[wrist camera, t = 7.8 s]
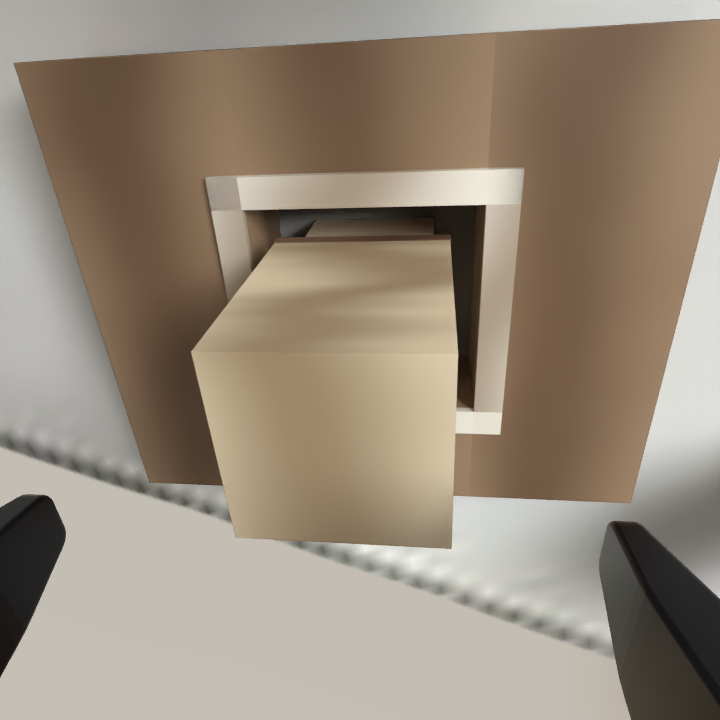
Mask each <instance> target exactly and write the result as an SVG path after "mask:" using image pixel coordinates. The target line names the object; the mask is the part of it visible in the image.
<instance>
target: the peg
mask: <svg viewBox="0 0 720 720" xmlns="http://www.w3.org/2000/svg"><path fill="white" fill-rule="evenodd" d="M191 354H192V358H193V362H194V366H195V370H196V375H197V379H198V383H199V387H200V391H201V395H202V400H203V404H204V408H205V412H206V416H207V420H208V425H209V429H210V433H211V437H212V441H213V445H214V450H215V454H216V458H217V462H218V466H219V470H220V475H221V479H222V483H223V487H224V491H225V495H226V499H227V504H228V508H229V512H230V516H231V520H232V524H233V529H234V533H235V537H236V538H254V539H273V540H292V541H311V542H331V543H350V544H369V545H388V546H407V547H426V548H446V549H451V546H452V517H453V489H454V460H455V432H456V403H457V375H458V343H457V329H456V315H455V301H454V287H453V272H452V258H451V234H437V235H434V217H424V218H383V219H341V220H316V221H315V223H314V224H313V226H312V227H311V229H310V230H309V232H308V233H307V235H306V237H289V238H277V239H276V240H275V241H274V245H273V246H272V247H271V248H270V250H269V251H268V252H267V254H266V255H265V256H264V258H263V259H262V260H261V261H260V263H259V264H258V265H257V267H256V268H255V269H254V271H253V272H252V273H251V274H250V276H249V277H248V278H247V280H246V281H245V282H244V284H243V285H242V286H241V287H240V289H239V290H238V291H237V293H236V294H235V295H234V297H233V298H232V299H231V301H230V302H229V303H228V304H227V306H226V307H225V308H224V310H223V311H222V312H221V314H220V315H219V316H218V317H217V319H216V320H215V321H214V323H213V324H212V325H211V327H210V328H209V329H208V330H207V332H206V333H205V334H204V336H203V337H202V338H201V340H200V341H199V342H198V343H197V345H196V346H195V347H194V349H193V350H192V351H191Z"/></svg>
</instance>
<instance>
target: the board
mask: <svg viewBox="0 0 720 720" xmlns="http://www.w3.org/2000/svg"><path fill="white" fill-rule="evenodd" d="M14 66H15V69H16V72H17V75H18V78H19V81H20V84H21V87H22V90H23V93H24V96H25V100H26V103H27V106H28V109H29V112H30V115H31V118H32V121H33V124H34V127H35V130H36V134H37V137H38V140H39V143H40V146H41V149H42V152H43V155H44V158H45V161H46V164H47V167H48V171H49V174H50V177H51V180H52V183H53V186H54V189H55V192H56V195H57V198H58V201H59V205H60V208H61V211H62V214H63V217H64V220H65V223H66V226H67V229H68V232H69V235H70V239H71V242H72V245H73V248H74V251H75V254H76V257H77V260H78V263H79V266H80V269H81V272H82V276H83V279H84V282H85V285H86V288H87V291H88V294H89V297H90V300H91V303H92V306H93V310H94V313H95V316H96V319H97V322H98V325H99V328H100V331H101V334H102V337H103V340H104V344H105V347H106V350H107V353H108V356H109V359H110V362H111V365H112V368H113V371H114V374H115V377H116V381H117V384H118V387H119V390H120V393H121V396H122V399H123V402H124V405H125V408H126V411H127V415H128V418H129V421H130V424H131V427H132V430H133V433H134V436H135V439H136V442H137V445H138V449H139V452H140V455H141V458H142V461H143V464H144V467H145V470H146V473H147V476H148V479H149V482H152V483H175V484H198V485H221V486H223V483H222V479H221V475H220V470H219V466H218V462H217V458H216V454H215V450H214V445H213V441H212V437H211V433H210V429H209V425H208V420H207V416H206V412H205V408H204V404H203V400H202V395H201V391H200V387H199V383H198V379H197V375H196V370H195V366H194V362H193V358H192V354H191V351H192V350H193V349H194V347H195V346H196V345H197V343H198V342H199V341H200V340H201V338H202V337H203V336H204V334H205V333H206V332H207V330H208V329H209V328H210V327H211V325H212V324H213V323H214V321H215V320H216V319H217V317H218V316H219V315H220V314H221V312H222V311H223V310H224V308H225V307H226V306H227V304H228V303H229V302H230V301H231V299H232V298H233V297H234V295H235V294H236V293H237V291H238V290H239V289H240V287H241V286H242V285H243V284H244V282H245V281H246V280H247V278H248V277H249V276H250V274H251V273H252V272H253V271H254V269H255V268H256V267H257V265H258V264H259V263H260V261H261V260H262V259H263V258H264V256H265V255H266V254H267V252H268V251H269V250H270V248H271V247H272V246H273V245H274V241H275V240H276V239H277V238H281V234H280V226H279V218H278V209H322V208H366V207H410V206H454V205H476V220H475V240H474V260H473V279H472V299H471V319H470V339H469V357H458V375H457V403H456V432H455V460H454V489H453V496H475V497H499V498H522V499H545V500H568V501H591V502H614V503H631V499H632V495H633V492H634V488H635V484H636V480H637V476H638V472H639V468H640V464H641V461H642V457H643V453H644V449H645V445H646V441H647V437H648V434H649V430H650V426H651V422H652V418H653V414H654V410H655V406H656V403H657V399H658V395H659V391H660V387H661V383H662V379H663V376H664V372H665V368H666V364H667V360H668V356H669V352H670V349H671V345H672V341H673V337H674V333H675V329H676V325H677V321H678V318H679V314H680V310H681V306H682V302H683V298H684V294H685V291H686V287H687V283H688V279H689V275H690V271H691V267H692V263H693V260H694V256H695V252H696V248H697V244H698V240H699V236H700V233H701V229H702V225H703V221H704V217H705V213H706V209H707V206H708V202H709V198H710V194H711V190H712V186H713V182H714V178H715V175H716V171H717V167H718V163H719V159H720V19H710V20H690V21H674V22H657V23H641V24H625V25H609V26H592V27H576V28H560V29H544V30H527V31H511V32H495V33H479V34H462V35H446V36H430V37H414V38H397V39H381V40H365V41H349V42H332V43H316V44H300V45H284V46H267V47H251V48H235V49H219V50H202V51H186V52H170V53H154V54H137V55H121V56H105V57H89V58H74V59H61V60H47V61H33V62H20V63H14Z"/></svg>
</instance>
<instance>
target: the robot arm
mask: <svg viewBox="0 0 720 720" xmlns="http://www.w3.org/2000/svg"><path fill="white" fill-rule="evenodd" d="M65 538H66V531H65V527H64V525H63V523H62V520H61V518H60V516H59V514H58V511H57V509H56V507H55V505H54V502H53V501H52V499H51V498H50V497H48V496H46V495H32V494H31V495H30V494H27V495H22V496H20V497H18V498H16V499H14V500H13V501H11V502H9V503H7V504H5V505H4V506H2V507H1V508H0V677H1V675H2V673H3V671H4V669H5V668H6V666H7V664H8V662H9V660H10V659H11V657H12V655H13V653H14V652H15V650H16V648H17V646H18V644H19V642H20V640H21V638H22V636H23V635H24V633H25V631H26V629H27V627H28V625H29V622H30V620H31V618H32V616H33V614H34V612H35V609H36V607H37V605H38V602H39V600H40V598H41V596H42V593H43V591H44V589H45V586H46V584H47V582H48V580H49V577H50V575H51V573H52V571H53V568H54V566H55V564H56V561H57V559H58V557H59V554H60V552H61V550H62V548H63V545H64V542H65ZM599 570H600V578H601V583H602V589H603V594H604V600H605V605H606V610H607V616H608V621H609V627H610V632H611V638H612V643H613V649H614V654H615V659H616V664H617V669H618V674H619V679H620V682H621V686H622V690H623V693H624V697H625V700H626V704H627V707H628V710H629V714H630V717H631V720H720V599H719V598H718V597H717V596H716V595H715V594H714V593H713V592H712V591H711V590H710V589H709V588H708V587H707V586H706V585H705V584H704V583H703V582H702V581H700V580H699V579H698V578H697V577H696V576H695V575H694V574H693V573H692V572H691V571H690V570H689V569H688V568H687V567H686V566H685V565H684V564H683V563H682V562H681V561H679V560H678V559H677V558H676V557H675V556H674V555H673V554H672V553H671V552H670V551H669V550H668V549H667V548H666V547H665V546H664V545H663V544H662V543H661V542H660V541H658V540H657V539H656V538H655V537H654V536H653V535H652V534H651V533H650V532H649V531H648V530H647V529H646V528H645V527H644V526H643V525H641V524H639V523H637V522H623V521H613V522H610V523H609V525H608V526H607V529H606V533H605V538H604V542H603V546H602V550H601V555H600V560H599Z"/></svg>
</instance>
